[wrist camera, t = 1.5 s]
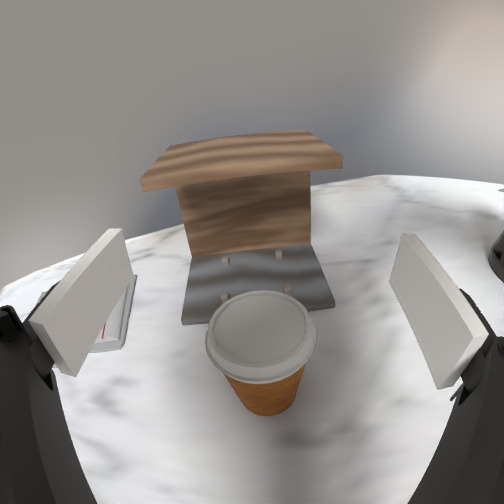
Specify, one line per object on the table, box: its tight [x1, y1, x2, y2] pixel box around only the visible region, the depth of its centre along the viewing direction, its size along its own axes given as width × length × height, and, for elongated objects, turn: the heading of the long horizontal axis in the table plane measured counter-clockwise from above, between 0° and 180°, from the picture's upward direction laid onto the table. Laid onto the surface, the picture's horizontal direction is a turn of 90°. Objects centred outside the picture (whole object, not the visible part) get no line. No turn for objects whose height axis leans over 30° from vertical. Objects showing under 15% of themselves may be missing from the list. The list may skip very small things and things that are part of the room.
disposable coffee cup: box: [205, 290, 317, 416], centre depth 26 cm, size 10×10×12 cm
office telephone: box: [36, 275, 137, 368], centre depth 41 cm, size 23×3×20 cm
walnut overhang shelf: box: [140, 130, 342, 325], centre depth 41 cm, size 18×22×22 cm
